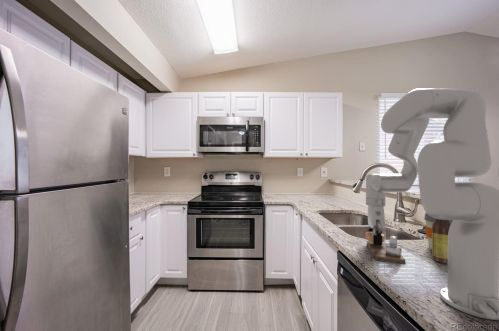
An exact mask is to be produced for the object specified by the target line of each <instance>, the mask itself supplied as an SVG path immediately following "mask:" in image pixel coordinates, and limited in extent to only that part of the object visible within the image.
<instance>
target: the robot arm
mask: <svg viewBox="0 0 499 331" xmlns="http://www.w3.org/2000/svg"><path fill="white" fill-rule="evenodd" d="M486 109H487V107H486V101H485V99H484V96H483V95H482V94H481V93H480V92H479V91H475V90H472V89H467V88H465V89H463V88H462V89H461V88H431V87H430V88H428V87H427V88H425V87H424V88H423V87H422V88H415V89H412V90H410V91H409V92H407V93H406V94H405V95H404V96H402V97H401V98H399V100H398V101H396V102H395V103H394V104H393V105H391V107H389V109H388V110H386V112H385V113H384V114H383V116H382V117H381V118H382V119H381V121H380V122H381V123H380V127H381V130H382V131H383V132H384V133H386V134H393V135H392V137H391V139H390V143H389V145H388V148H387V151H388V152H389V154H390V155H392V156H394V157H396V158H398V159H400V160H402V161H403V166H402V169H401V171H400V173H367V174H366V176H365V206H367V223H368V232H373V230H374V235H373V244H374V245H382V243H383V242H382V234H383V231H384V230H385V229H386V225H385V224H386V221H385V220H386V219H385V216H386V215H385V207H386V193H398V194H399V193H405V192H408V191H409V190H411V188H412V186H413V185H414V183H415V181H416V180H417V178H418V185H419V186H418V187H419V195H420V203H421V206H422V207H423V210H424V212H425V213H427V214H428V215H430V216H431V217H433V218H436V219H440V220H453V221H452V223H451V226H450V228H449V232H448V263H447V281H446V282H447V286H446V287H443V288H441V289H440V290H439V296H440V298H441V299H442V301H443V302H445V303H446V304H448V305H449V306H450V307H452V308H454V309H456V310H458V311H460V312H463V313H465V314H468V315H470V316H474V317H477V318H482V319H486V320H491V321H493V320H494V321H499V189H498V188H496V187H494V186H493V185H491V184H487V183H483V182H458V181H457V182H456V178H476V177H480V176H483V175H486V174H487V173H488V172H489V170H490V169H491V166H492V159H491V158H492V157H491V151H490V150H491V149H490V142H489V134H488V129H487V123H486V115H487V114H486ZM430 119H447V120H446V121H445V124H444V125H443V131H442V132H443V140H436V141H431V142H429V143H427V144H426V145H424V146H423V147H422V149H420V152H419V154H418V157H417V159H416V157H415V154H416V151H417V149H418V147H419V145H420V143H421V140H422V139H423V136H424V134H425V132H426V130H427V127H428V125H429V123H430Z"/></svg>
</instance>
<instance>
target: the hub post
mask: <svg viewBox="0 0 499 331" xmlns="http://www.w3.org/2000/svg"><path fill="white" fill-rule="evenodd" d="M372 235H374V230H373V232H372ZM369 245H372V246H382V245H374V244H373V242H371V241H369Z"/></svg>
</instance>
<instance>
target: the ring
mask: <svg viewBox="0 0 499 331" xmlns="http://www.w3.org/2000/svg"><path fill="white" fill-rule="evenodd" d="M365 240H366V241H371V242H373V235H372V232H369V231H366V232H365ZM382 243H385V234H383V233H382Z"/></svg>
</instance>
